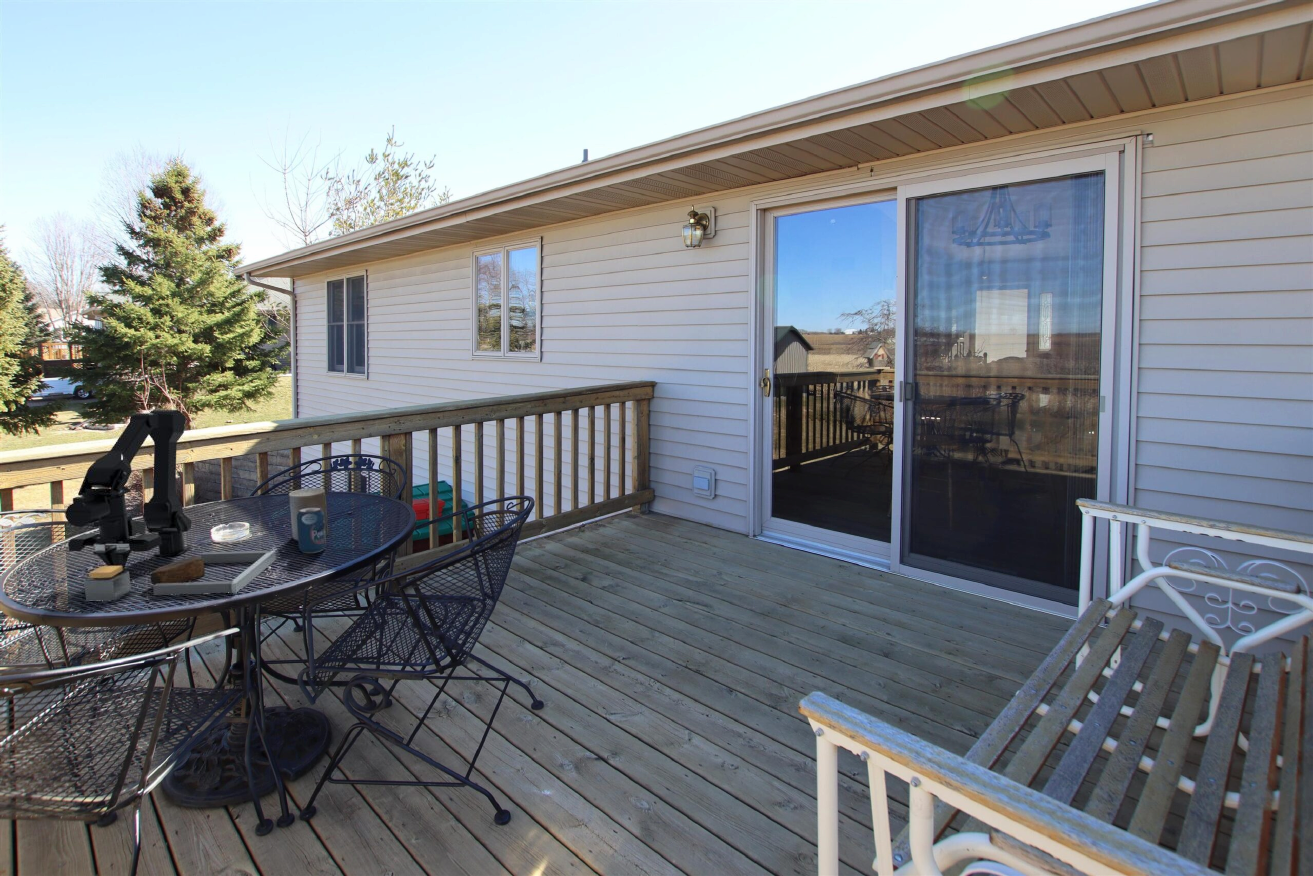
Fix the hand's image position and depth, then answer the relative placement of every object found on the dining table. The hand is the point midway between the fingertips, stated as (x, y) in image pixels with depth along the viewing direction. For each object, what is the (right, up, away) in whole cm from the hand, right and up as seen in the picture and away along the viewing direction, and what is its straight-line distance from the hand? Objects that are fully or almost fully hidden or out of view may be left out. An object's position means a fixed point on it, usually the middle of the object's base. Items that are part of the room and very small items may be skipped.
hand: (119, 575), depth 172 cm
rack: (+22, -1, +3) cm, 22 cm away
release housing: (+5, -3, -10) cm, 12 cm away
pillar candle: (+29, +4, +36) cm, 47 cm away
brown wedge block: (+15, -2, 0) cm, 15 cm away
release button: (+5, -1, -10) cm, 12 cm away
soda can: (+36, +2, +24) cm, 43 cm away
